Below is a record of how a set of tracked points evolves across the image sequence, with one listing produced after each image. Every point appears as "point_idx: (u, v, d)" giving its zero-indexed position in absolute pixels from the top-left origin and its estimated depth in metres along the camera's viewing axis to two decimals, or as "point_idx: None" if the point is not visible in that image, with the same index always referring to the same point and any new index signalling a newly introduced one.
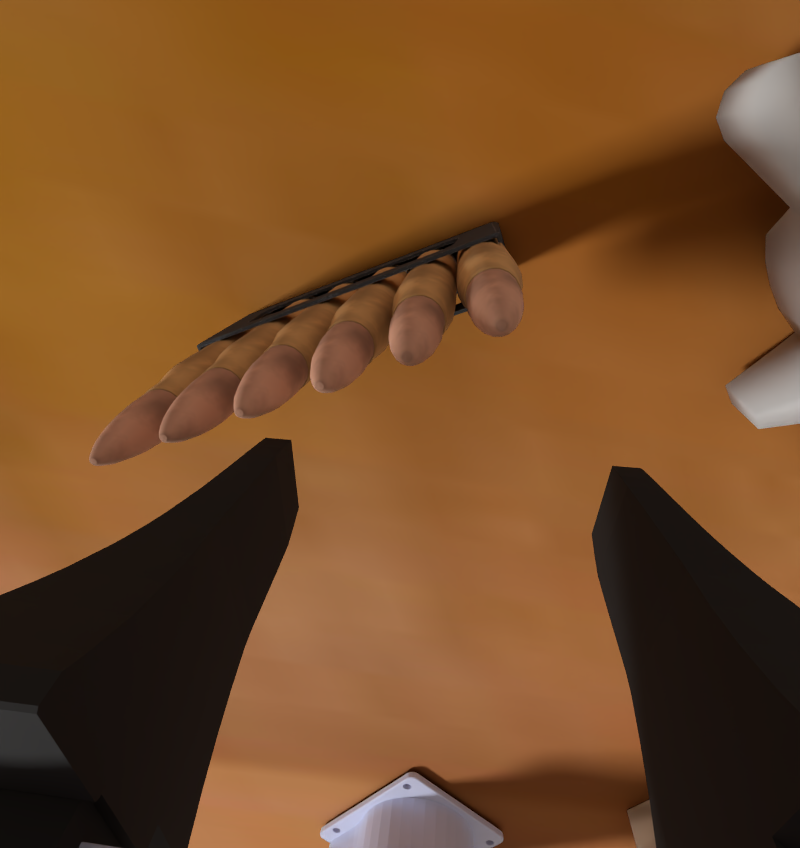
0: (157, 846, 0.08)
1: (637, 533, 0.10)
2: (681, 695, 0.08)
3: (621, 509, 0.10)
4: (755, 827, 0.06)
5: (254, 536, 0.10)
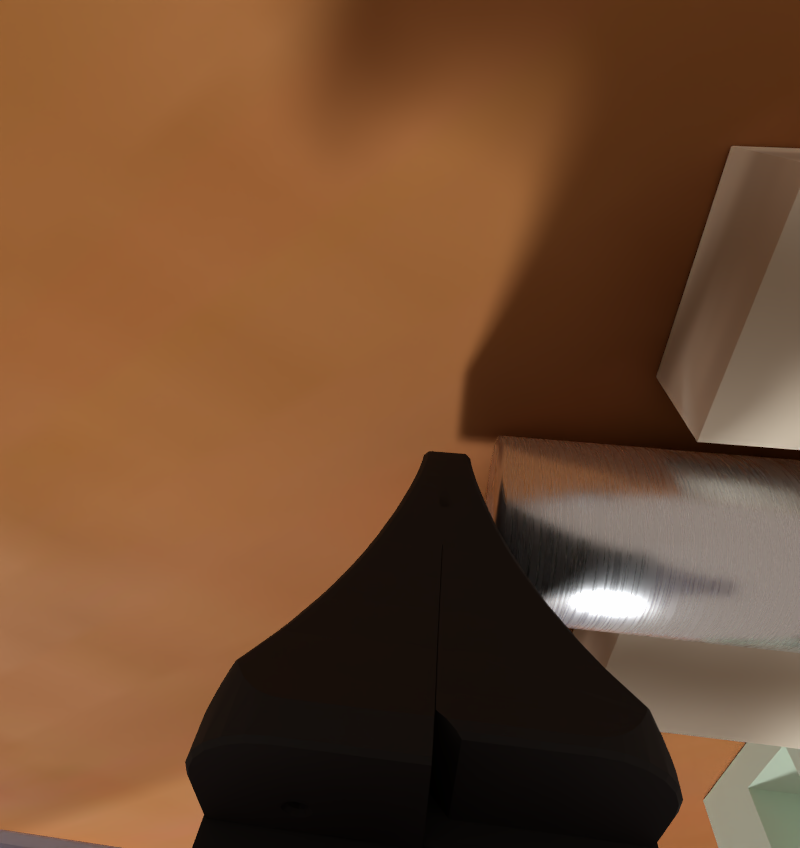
0: None
1: None
2: None
3: None
4: None
5: None
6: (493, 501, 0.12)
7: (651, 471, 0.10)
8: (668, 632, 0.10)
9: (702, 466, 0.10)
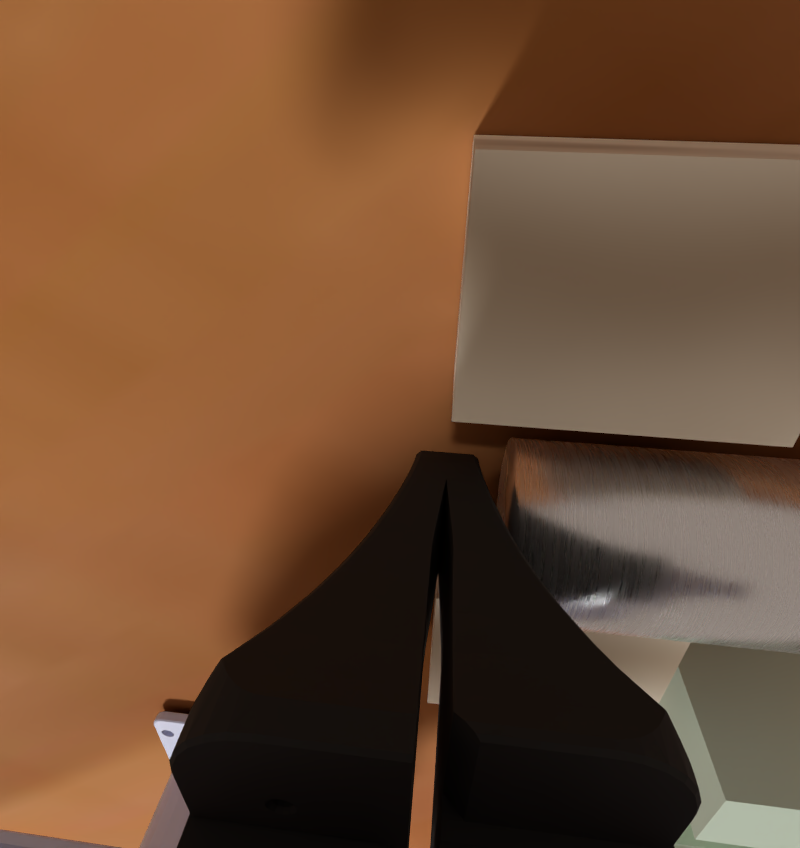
0: None
1: (446, 516, 0.10)
2: (444, 668, 0.08)
3: None
4: (442, 785, 0.06)
5: (435, 554, 0.10)
6: (505, 504, 0.12)
7: (665, 473, 0.10)
8: (684, 635, 0.10)
9: (716, 468, 0.10)
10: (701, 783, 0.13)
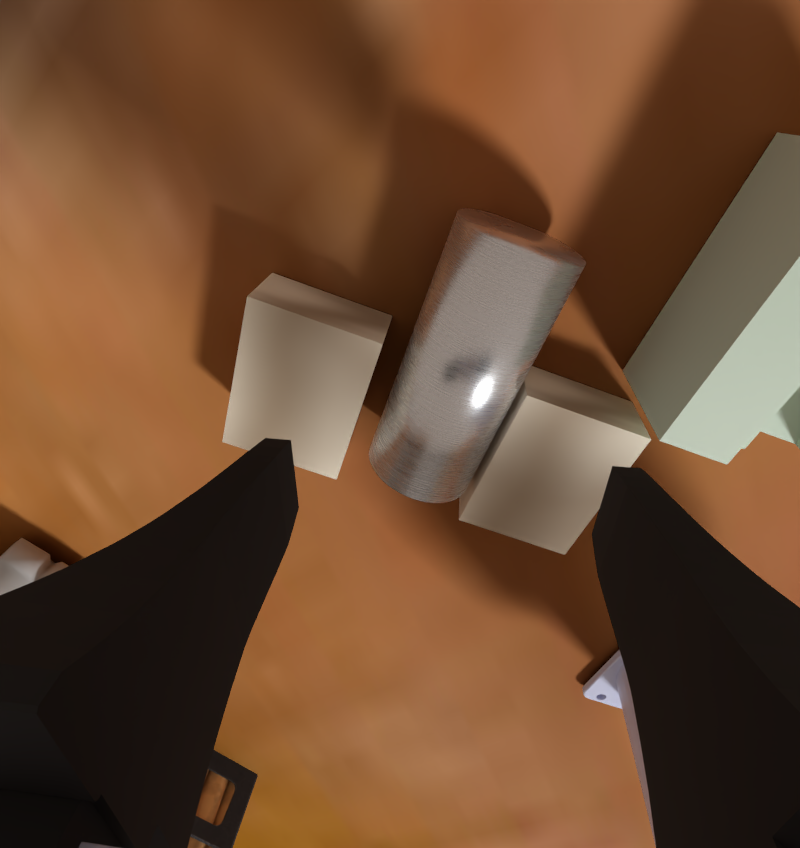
0: (157, 846, 0.08)
1: (637, 533, 0.10)
2: (681, 695, 0.08)
3: (621, 509, 0.10)
4: (755, 827, 0.06)
5: (255, 537, 0.10)
6: None
7: (392, 387, 0.18)
8: (461, 427, 0.17)
9: (403, 358, 0.18)
10: None
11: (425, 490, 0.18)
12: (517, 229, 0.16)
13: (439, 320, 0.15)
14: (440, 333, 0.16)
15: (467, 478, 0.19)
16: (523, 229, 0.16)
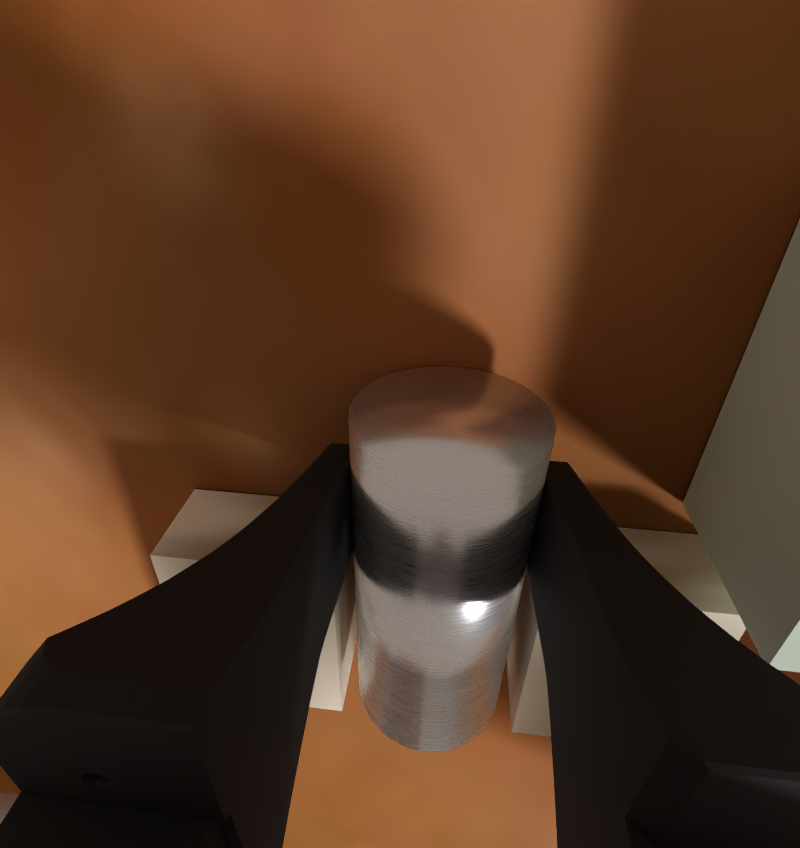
0: None
1: (552, 525, 0.10)
2: (576, 683, 0.08)
3: (543, 502, 0.11)
4: (615, 808, 0.06)
5: (331, 544, 0.10)
6: None
7: None
8: (434, 675, 0.12)
9: None
10: None
11: (421, 740, 0.13)
12: (454, 393, 0.11)
13: (361, 546, 0.11)
14: (366, 564, 0.11)
15: (481, 714, 0.13)
16: (467, 387, 0.11)
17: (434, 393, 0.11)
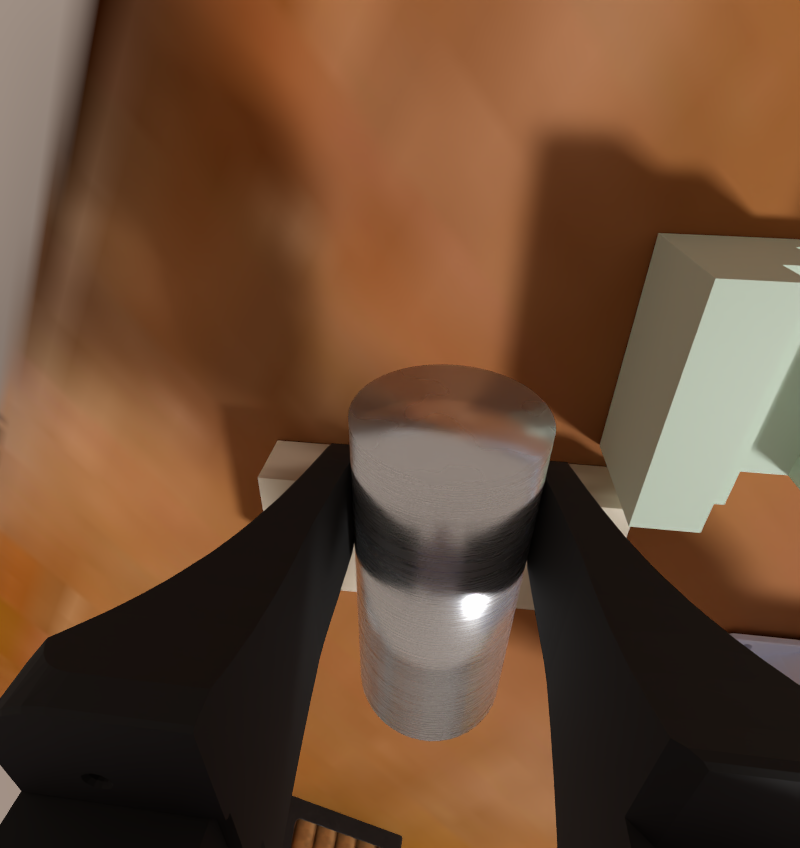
0: None
1: (552, 525, 0.10)
2: (576, 683, 0.08)
3: (543, 502, 0.11)
4: (615, 809, 0.06)
5: (331, 544, 0.10)
6: None
7: None
8: (436, 669, 0.12)
9: None
10: None
11: (423, 730, 0.14)
12: (453, 393, 0.11)
13: (362, 546, 0.11)
14: (367, 563, 0.11)
15: (481, 704, 0.14)
16: (467, 387, 0.11)
17: (434, 393, 0.11)
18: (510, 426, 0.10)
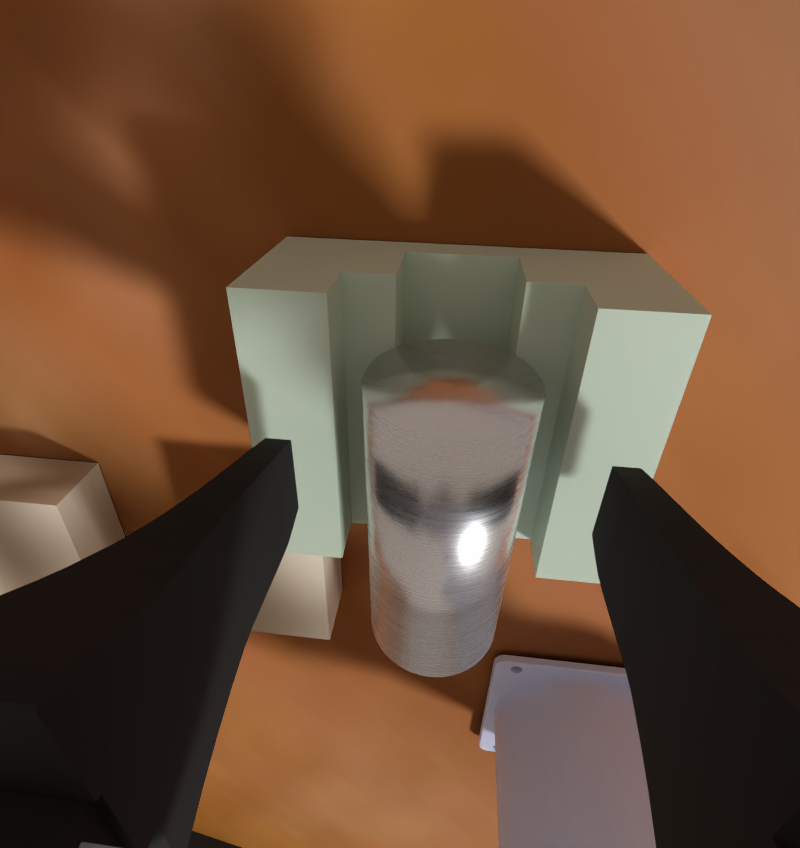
0: (157, 846, 0.08)
1: (637, 533, 0.10)
2: (681, 695, 0.08)
3: (621, 509, 0.10)
4: (755, 828, 0.06)
5: (255, 537, 0.10)
6: None
7: None
8: (439, 610, 0.13)
9: None
10: None
11: (427, 667, 0.15)
12: (455, 364, 0.12)
13: (374, 500, 0.12)
14: (379, 515, 0.13)
15: (479, 645, 0.15)
16: (467, 358, 0.12)
17: (437, 364, 0.12)
18: (505, 392, 0.11)
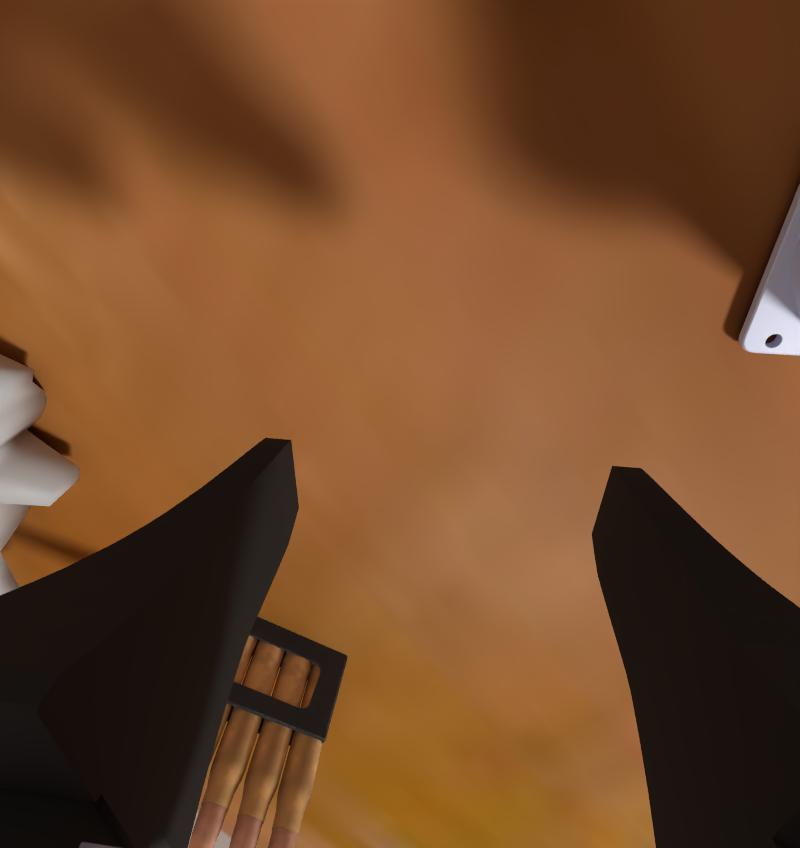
0: (157, 846, 0.08)
1: (637, 533, 0.10)
2: (681, 695, 0.08)
3: (621, 509, 0.10)
4: (755, 827, 0.06)
5: (255, 536, 0.10)
6: None
7: None
8: None
9: None
10: None
11: None
12: None
13: None
14: None
15: None
16: None
17: None
18: None
